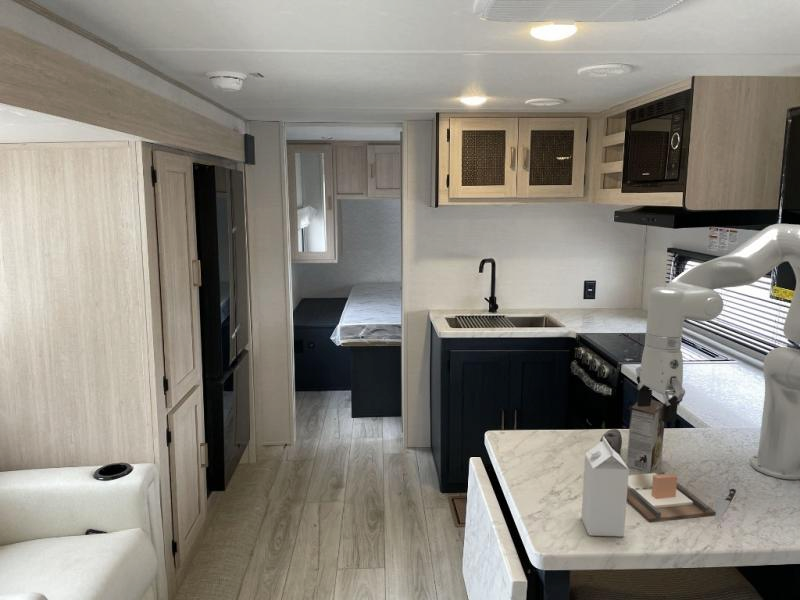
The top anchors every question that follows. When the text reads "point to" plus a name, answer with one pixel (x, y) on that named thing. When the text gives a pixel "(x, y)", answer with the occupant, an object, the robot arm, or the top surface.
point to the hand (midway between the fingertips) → (655, 413)
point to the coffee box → (645, 436)
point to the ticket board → (665, 512)
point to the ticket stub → (665, 492)
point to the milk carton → (604, 491)
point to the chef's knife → (722, 505)
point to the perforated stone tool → (613, 439)
